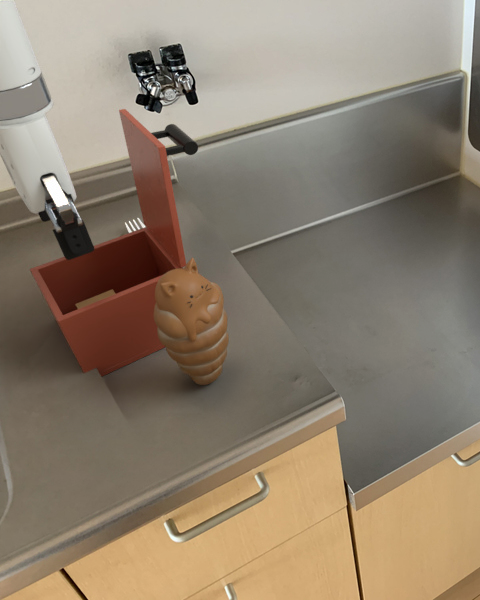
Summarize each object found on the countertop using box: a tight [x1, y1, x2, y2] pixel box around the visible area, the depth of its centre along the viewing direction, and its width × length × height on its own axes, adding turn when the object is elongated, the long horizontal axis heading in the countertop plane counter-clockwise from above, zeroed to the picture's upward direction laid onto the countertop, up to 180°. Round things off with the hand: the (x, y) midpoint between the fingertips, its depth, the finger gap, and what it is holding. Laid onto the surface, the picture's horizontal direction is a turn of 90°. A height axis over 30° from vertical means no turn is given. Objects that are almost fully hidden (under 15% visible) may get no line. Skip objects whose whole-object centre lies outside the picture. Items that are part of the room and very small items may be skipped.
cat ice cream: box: [154, 257, 230, 386], centre depth 73 cm, size 9×8×18 cm
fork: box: [124, 217, 146, 233], centre depth 98 cm, size 3×20×2 cm, turn 39°
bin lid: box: [118, 108, 199, 268], centre depth 78 cm, size 16×13×6 cm
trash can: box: [29, 226, 184, 377], centre depth 82 cm, size 16×13×11 cm
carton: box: [75, 289, 116, 309], centre depth 82 cm, size 5×5×5 cm
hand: (67, 235), depth 73 cm, fingers open, 9 cm apart
